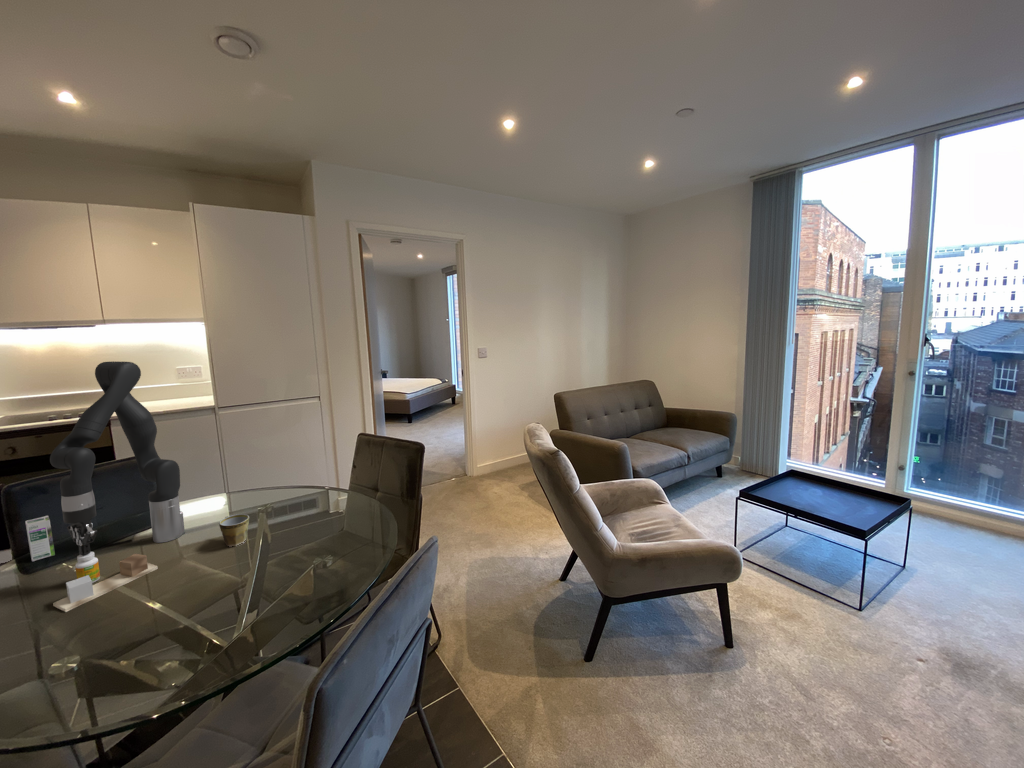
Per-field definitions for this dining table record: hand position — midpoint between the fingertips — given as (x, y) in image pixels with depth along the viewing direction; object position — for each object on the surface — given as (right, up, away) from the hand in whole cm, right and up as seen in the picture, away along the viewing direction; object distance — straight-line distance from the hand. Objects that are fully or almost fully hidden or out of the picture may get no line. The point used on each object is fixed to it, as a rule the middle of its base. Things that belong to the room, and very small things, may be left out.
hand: (85, 554), depth 135 cm
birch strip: (+9, -10, -1) cm, 14 cm away
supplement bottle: (0, -10, +1) cm, 10 cm away
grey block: (+7, -10, -8) cm, 14 cm away
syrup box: (-32, -7, +15) cm, 37 cm away
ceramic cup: (+31, -7, +28) cm, 42 cm away
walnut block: (+11, -9, +5) cm, 15 cm away
